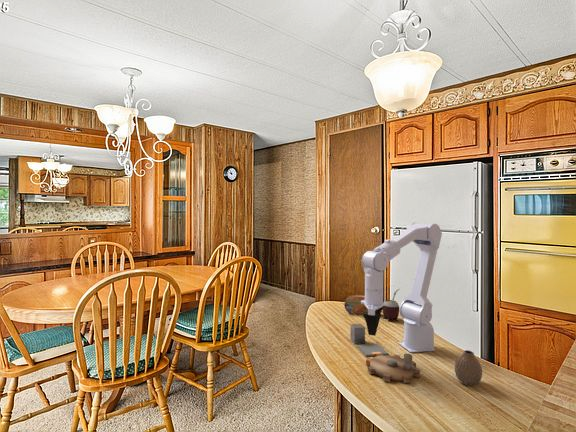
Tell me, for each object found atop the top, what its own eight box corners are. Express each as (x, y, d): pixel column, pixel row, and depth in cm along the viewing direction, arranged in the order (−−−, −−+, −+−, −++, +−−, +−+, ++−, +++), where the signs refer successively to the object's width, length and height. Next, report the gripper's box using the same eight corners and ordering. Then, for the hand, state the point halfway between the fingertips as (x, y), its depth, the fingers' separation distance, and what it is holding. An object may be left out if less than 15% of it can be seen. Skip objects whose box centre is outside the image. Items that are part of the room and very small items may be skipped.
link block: (360, 339, 126) (360, 323, 126) (364, 343, 122) (365, 327, 122) (350, 340, 125) (350, 324, 125) (354, 344, 121) (354, 328, 121)
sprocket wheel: (373, 353, 113) (373, 337, 113) (423, 365, 105) (423, 348, 105) (359, 374, 99) (359, 355, 99) (415, 388, 92) (415, 369, 91)
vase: (481, 391, 91) (482, 359, 91) (453, 384, 95) (453, 353, 94) (482, 380, 97) (483, 350, 97) (455, 373, 101) (456, 344, 100)
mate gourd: (384, 315, 153) (385, 283, 152) (402, 319, 149) (403, 285, 148) (380, 320, 146) (380, 286, 146) (398, 324, 142) (399, 288, 142)
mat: (377, 345, 121) (377, 343, 121) (388, 354, 113) (388, 352, 113) (356, 346, 119) (356, 344, 119) (366, 356, 111) (366, 354, 111)
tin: (344, 314, 155) (344, 295, 155) (344, 311, 158) (344, 294, 158) (377, 316, 153) (378, 297, 152) (377, 313, 156) (377, 295, 156)
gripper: (364, 282, 116) (363, 321, 117) (358, 293, 103) (357, 337, 103) (385, 284, 114) (384, 324, 114) (382, 295, 100) (381, 340, 101)
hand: (373, 330), depth 109 cm, fingers open, 7 cm apart
